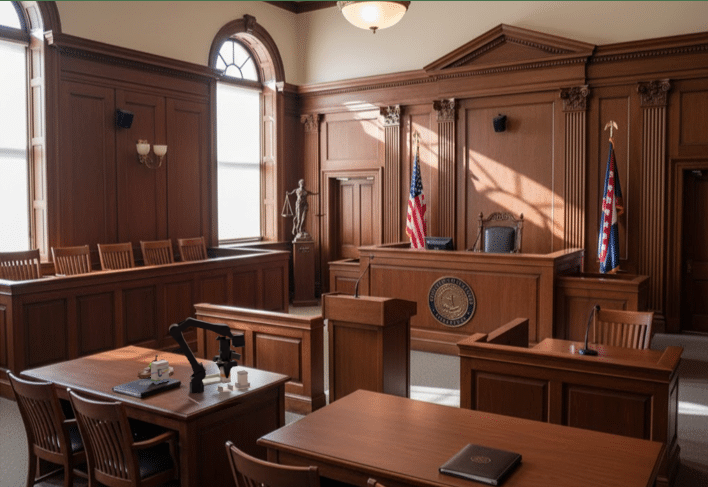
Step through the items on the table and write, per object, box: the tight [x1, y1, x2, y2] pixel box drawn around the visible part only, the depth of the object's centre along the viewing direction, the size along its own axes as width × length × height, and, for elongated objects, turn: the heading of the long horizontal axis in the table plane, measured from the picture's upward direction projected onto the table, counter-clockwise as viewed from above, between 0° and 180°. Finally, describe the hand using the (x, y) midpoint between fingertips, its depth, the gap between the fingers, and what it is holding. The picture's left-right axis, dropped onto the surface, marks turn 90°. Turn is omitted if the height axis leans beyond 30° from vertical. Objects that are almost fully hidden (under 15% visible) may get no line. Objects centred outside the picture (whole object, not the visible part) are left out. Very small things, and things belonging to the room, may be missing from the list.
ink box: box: [150, 359, 170, 382], centre depth 366 cm, size 9×5×12 cm, turn 143°
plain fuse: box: [236, 370, 249, 388], centre depth 355 cm, size 4×4×8 cm
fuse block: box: [215, 381, 253, 394], centre depth 352 cm, size 18×9×3 cm, turn 126°
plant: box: [137, 354, 175, 379], centre depth 386 cm, size 20×20×11 cm
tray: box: [202, 372, 221, 386], centre depth 368 cm, size 15×15×2 cm
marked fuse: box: [219, 367, 232, 384], centre depth 349 cm, size 4×4×8 cm
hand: (225, 377), depth 349 cm, fingers closed on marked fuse, 4 cm apart
